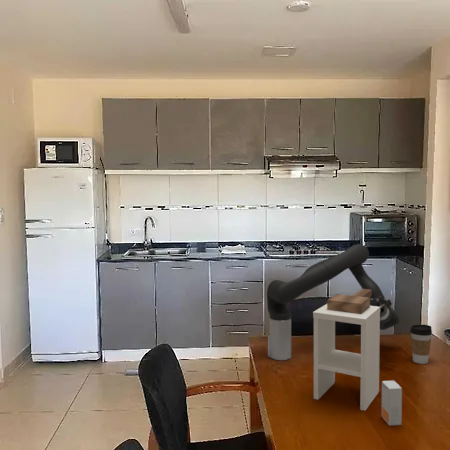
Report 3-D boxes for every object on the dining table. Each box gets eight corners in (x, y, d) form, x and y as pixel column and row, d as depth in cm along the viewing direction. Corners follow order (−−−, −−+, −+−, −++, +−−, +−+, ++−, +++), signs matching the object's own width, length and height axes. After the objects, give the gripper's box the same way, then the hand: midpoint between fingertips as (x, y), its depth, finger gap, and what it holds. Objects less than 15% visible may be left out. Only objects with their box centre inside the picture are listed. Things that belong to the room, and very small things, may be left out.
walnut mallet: (327, 309, 170) (327, 299, 170) (351, 293, 194) (351, 285, 193) (361, 314, 164) (361, 303, 164) (382, 297, 187) (382, 288, 187)
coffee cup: (433, 365, 199) (434, 329, 198) (411, 364, 201) (412, 328, 200) (429, 358, 207) (429, 323, 206) (408, 357, 209) (408, 323, 208)
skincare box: (380, 416, 157) (381, 380, 156) (393, 416, 157) (394, 380, 156) (388, 426, 151) (389, 388, 150) (402, 425, 151) (402, 387, 150)
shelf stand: (313, 399, 170) (313, 312, 168) (331, 381, 185) (331, 300, 183) (364, 411, 161) (365, 319, 158) (379, 391, 176) (380, 306, 173)
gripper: (362, 298, 210) (352, 286, 198) (396, 302, 202) (388, 290, 190) (360, 315, 207) (349, 304, 195) (394, 320, 200) (385, 308, 187)
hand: (368, 297), depth 192 cm, fingers open, 8 cm apart
